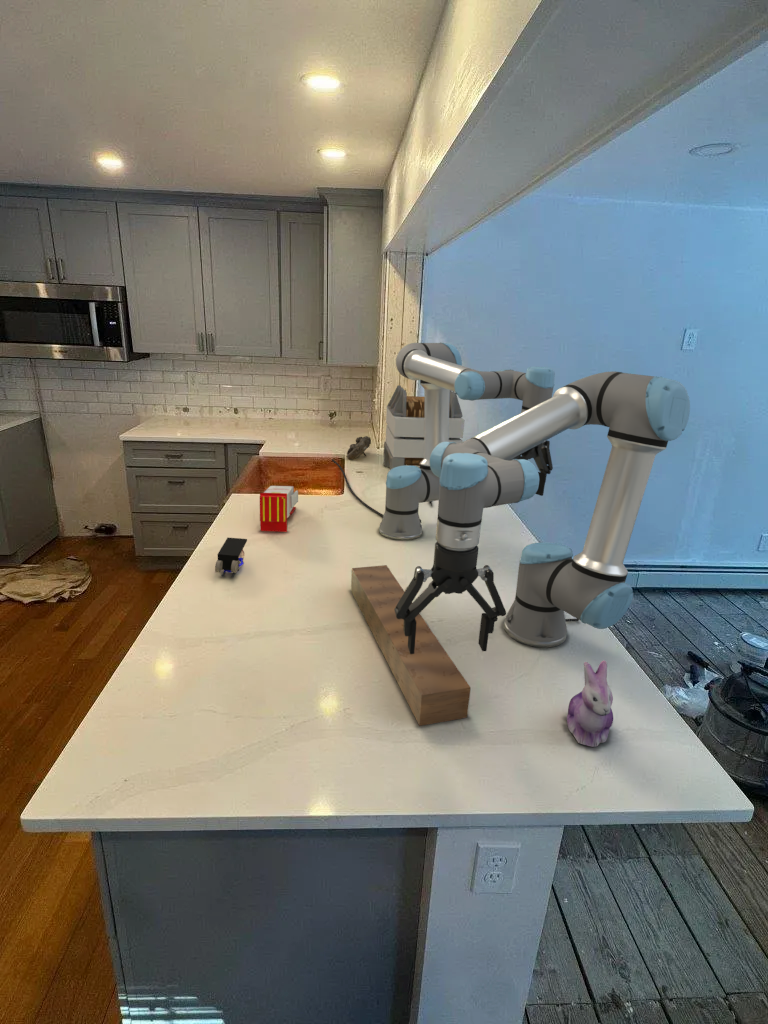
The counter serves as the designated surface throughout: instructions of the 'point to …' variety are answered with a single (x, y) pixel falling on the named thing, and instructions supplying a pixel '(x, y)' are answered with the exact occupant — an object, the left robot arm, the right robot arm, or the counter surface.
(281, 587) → the counter surface
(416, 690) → the wide beam
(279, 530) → the toy
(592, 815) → the counter surface
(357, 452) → the fossil
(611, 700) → the figurine
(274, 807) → the counter surface
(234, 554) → the figurine character
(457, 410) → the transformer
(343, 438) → the counter surface
